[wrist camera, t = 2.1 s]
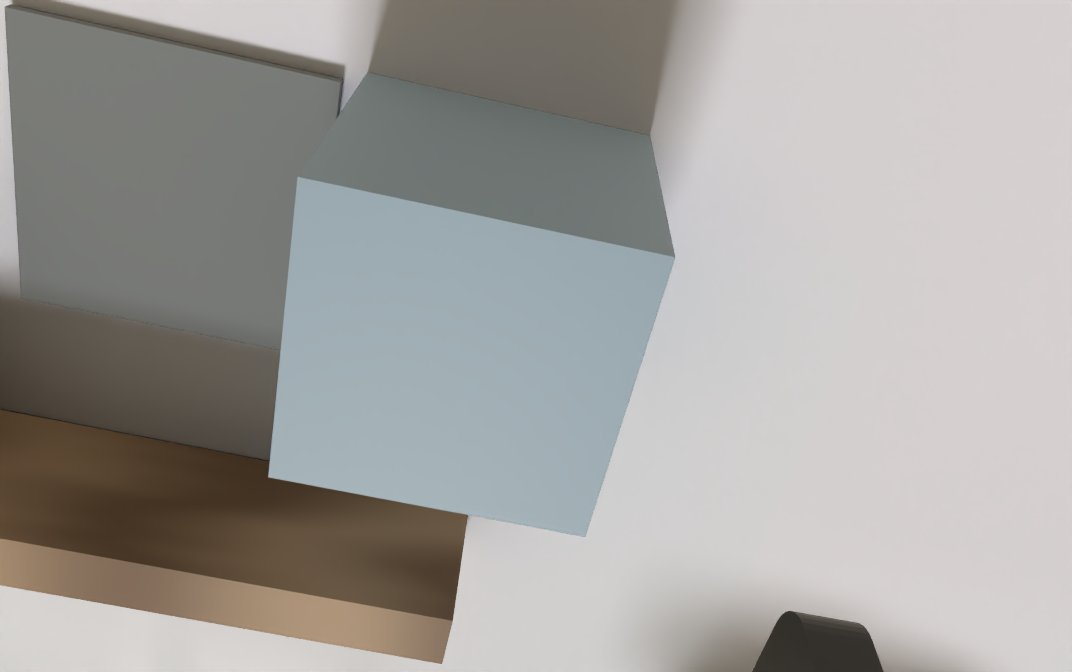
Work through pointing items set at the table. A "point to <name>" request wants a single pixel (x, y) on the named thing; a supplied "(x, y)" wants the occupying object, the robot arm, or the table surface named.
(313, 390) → the slate-blue block
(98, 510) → the walnut corner walls
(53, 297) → the pad
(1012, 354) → the table surface
